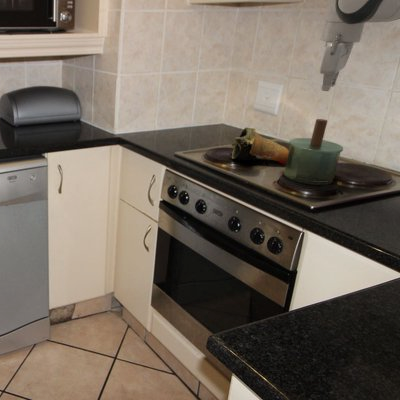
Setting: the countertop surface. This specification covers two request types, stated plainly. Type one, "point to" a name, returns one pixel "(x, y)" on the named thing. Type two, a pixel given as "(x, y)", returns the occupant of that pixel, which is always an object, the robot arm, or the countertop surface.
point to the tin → (311, 166)
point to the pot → (257, 147)
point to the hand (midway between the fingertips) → (328, 88)
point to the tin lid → (317, 141)
